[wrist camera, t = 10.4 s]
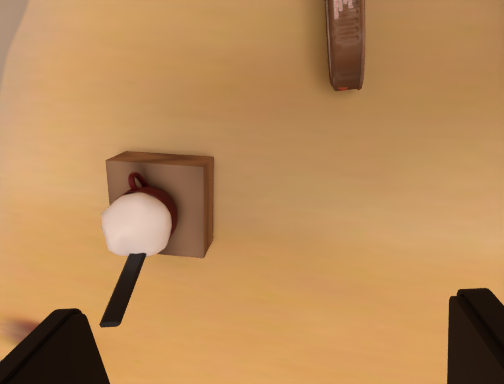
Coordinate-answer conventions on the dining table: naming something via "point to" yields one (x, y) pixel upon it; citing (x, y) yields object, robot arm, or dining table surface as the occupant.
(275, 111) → the dining table surface
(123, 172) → the walnut block
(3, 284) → the dining table surface
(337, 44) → the tin
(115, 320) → the cocoa
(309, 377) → the dining table surface
